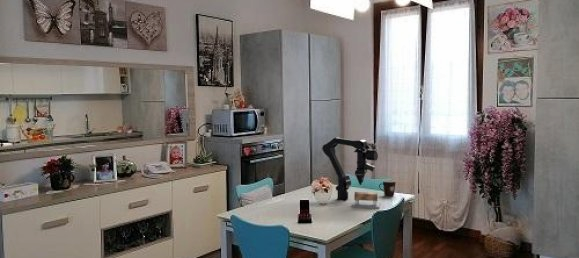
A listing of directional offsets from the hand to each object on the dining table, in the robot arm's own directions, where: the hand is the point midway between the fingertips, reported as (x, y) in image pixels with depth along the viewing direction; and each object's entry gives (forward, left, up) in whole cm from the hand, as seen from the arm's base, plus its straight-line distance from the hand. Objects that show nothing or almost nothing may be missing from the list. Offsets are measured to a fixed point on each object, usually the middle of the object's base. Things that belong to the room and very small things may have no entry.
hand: (361, 183), depth 291 cm
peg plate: (+4, -10, -12) cm, 16 cm away
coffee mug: (+15, +23, -12) cm, 30 cm away
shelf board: (+4, -10, -8) cm, 13 cm away
